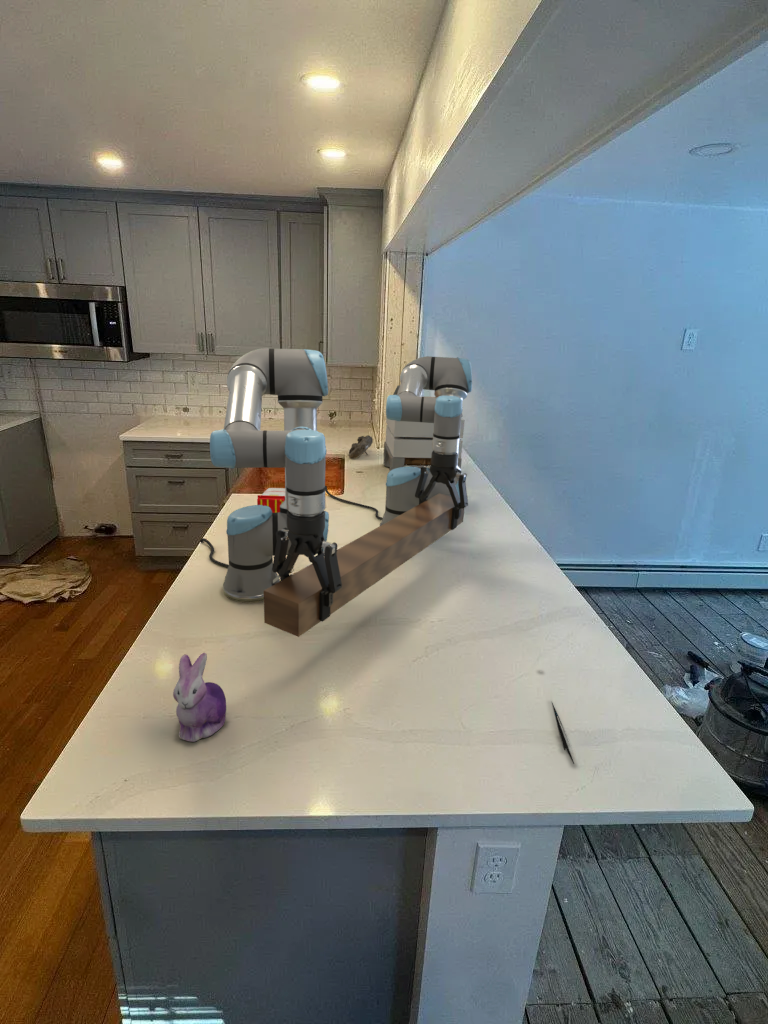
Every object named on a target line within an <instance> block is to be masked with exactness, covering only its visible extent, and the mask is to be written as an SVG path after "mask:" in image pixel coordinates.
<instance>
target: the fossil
mask: <svg viewBox="0 0 768 1024" xmlns="http://www.w3.org/2000/svg"><path fill="white" fill-rule="evenodd" d="M373 443H374V442H373V437H372V436H371V435H366V436H365V435H361V436H358V437H357V442H353V443H352V444H351V447H350V448H349V450H348V457H349V459H353V460H354V459H356V458H358V457H360V456H361V455H363V454H366V456H368V455H369V454H368V452H367V450H368V449H369V448H371V446H372V444H373Z"/></svg>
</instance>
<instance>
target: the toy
mask: <svg viewBox="0 0 768 1024" xmlns="http://www.w3.org/2000/svg"><path fill="white" fill-rule="evenodd" d="M284 501H285V487H284V488H283V487H268V488H267V489H266V490H264V492H263V493H262V494H258V495H257V499H256V505H263V506H268V507H270V508H271V510H272V513H277V512H280V505H281V504H282V503H283V502H284Z"/></svg>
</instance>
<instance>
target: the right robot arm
mask: <svg viewBox="0 0 768 1024" xmlns="http://www.w3.org/2000/svg"><path fill="white" fill-rule="evenodd" d="M472 369H473V368H472V363H471V361H470V360H469V359H468V358H462V357H447V356H446V357H445V356H431V355H430V356H429V355H427V356H421V357H418V358H416V359H413V360H412V361H410V362H408V363H406V365H405V366H403V368H402V370H401V372H400V375H399V381H400V384H399V385H400V387H399V390H398V393H397V395H393V394H389V395H388V396H387V398H386V402H385V403H386V404H385V418H386V417H387V419H389V420H395V421H407V422H424V423H434V433H433V443H432V449H433V450H434V451H433V452H432V456H431V465H430V466H429V465H428V466H420V467H419V466H418V467H417V466H404V467H399V468H396V469H393V470H391V471H390V470H389V471H388V473H387V475H386V482H385V487H386V488H385V489H386V490H385V504H384V505H385V507H384V508H385V509H384V513H383V515H382V517H381V516H380V515H379V510H378V509H377V508H376V507H373V506H371V505H366V504H362V503H358V502H354V501H351V500H347V499H343V498H340V497H338V496H335V495H333V494H331V493H330V491H329V490H328V487H327V485H325V494H327V495H328V496H329V497H331V498H333V499H334V500H337V501H339V502H343V503H345V504H351V505H354V506H358V507H362V508H365V509H370V510H372V511H374V512H375V514H374V516H375V518H377V519H378V520H380V521H381V522H379V526H381V525H383V524H385V523H387V522H388V521H390V520H392V519H394V518H396V517H398V516H399V515H401V514H403V513H405V512H407V511H408V510H410V509H412V508H414V507H416V506H417V505H419V504H421V503H423V502H425V501H426V500H428V499H430V498H432V497H434V496H435V495H437V494H439V493H440V494H444V495H448V496H451V498H452V500H453V503H454V506H455V507H454V508H453V509H452V519H451V531H454V530H455V529H457V527H458V526H457V519H459V518H460V517H461V508H463V509H464V510H465V508H467V507H468V506H469V499H468V491H467V483H466V480H467V477H468V475H467V473H466V472H465V473H464V472H463V473H462V468H461V469H460V468H459V467H458V452H459V439H461V438H460V426H461V418H462V417H463V408H464V407H463V401H464V400H465V399H467V397H468V394H470V393H471V392H472V391H473V371H472ZM424 390H427V391H434V392H433V395H434V396H422V395H423V391H424ZM461 416H462V417H461Z"/></svg>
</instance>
